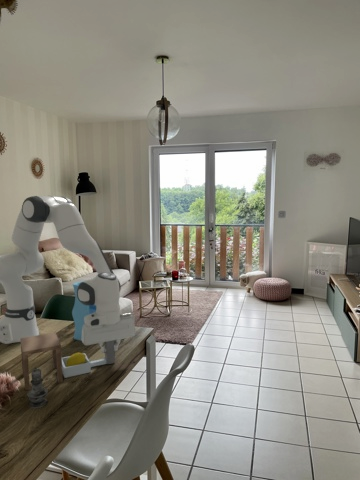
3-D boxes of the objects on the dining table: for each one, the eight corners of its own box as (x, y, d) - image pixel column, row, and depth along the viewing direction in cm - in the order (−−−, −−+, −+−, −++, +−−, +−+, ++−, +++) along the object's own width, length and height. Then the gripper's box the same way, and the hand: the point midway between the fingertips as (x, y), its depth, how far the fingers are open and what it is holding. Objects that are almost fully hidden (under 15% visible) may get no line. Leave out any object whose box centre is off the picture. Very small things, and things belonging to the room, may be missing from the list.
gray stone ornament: (31, 398, 115) (29, 362, 114) (50, 397, 116) (48, 361, 114) (25, 409, 109) (22, 371, 108) (45, 408, 110) (43, 370, 108)
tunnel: (25, 390, 120) (22, 352, 119) (22, 373, 132) (20, 338, 130) (62, 381, 125) (60, 345, 124) (57, 366, 137) (55, 332, 136)
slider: (64, 377, 128) (63, 353, 127) (60, 367, 136) (59, 343, 135) (117, 366, 136) (116, 342, 135) (110, 356, 144) (109, 334, 143)
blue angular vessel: (89, 342, 159) (86, 286, 156) (73, 338, 164) (70, 284, 161) (104, 335, 167) (102, 282, 164) (89, 331, 172) (87, 279, 169)
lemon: (63, 367, 128) (83, 353, 131) (60, 359, 133) (79, 346, 135) (71, 377, 131) (90, 363, 133) (68, 369, 135) (87, 356, 138)
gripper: (132, 309, 145) (133, 343, 146) (79, 317, 136) (81, 353, 137) (137, 314, 139) (138, 349, 141) (83, 323, 130) (84, 360, 132)
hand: (109, 351), depth 139 cm, fingers closed on slider, 3 cm apart
